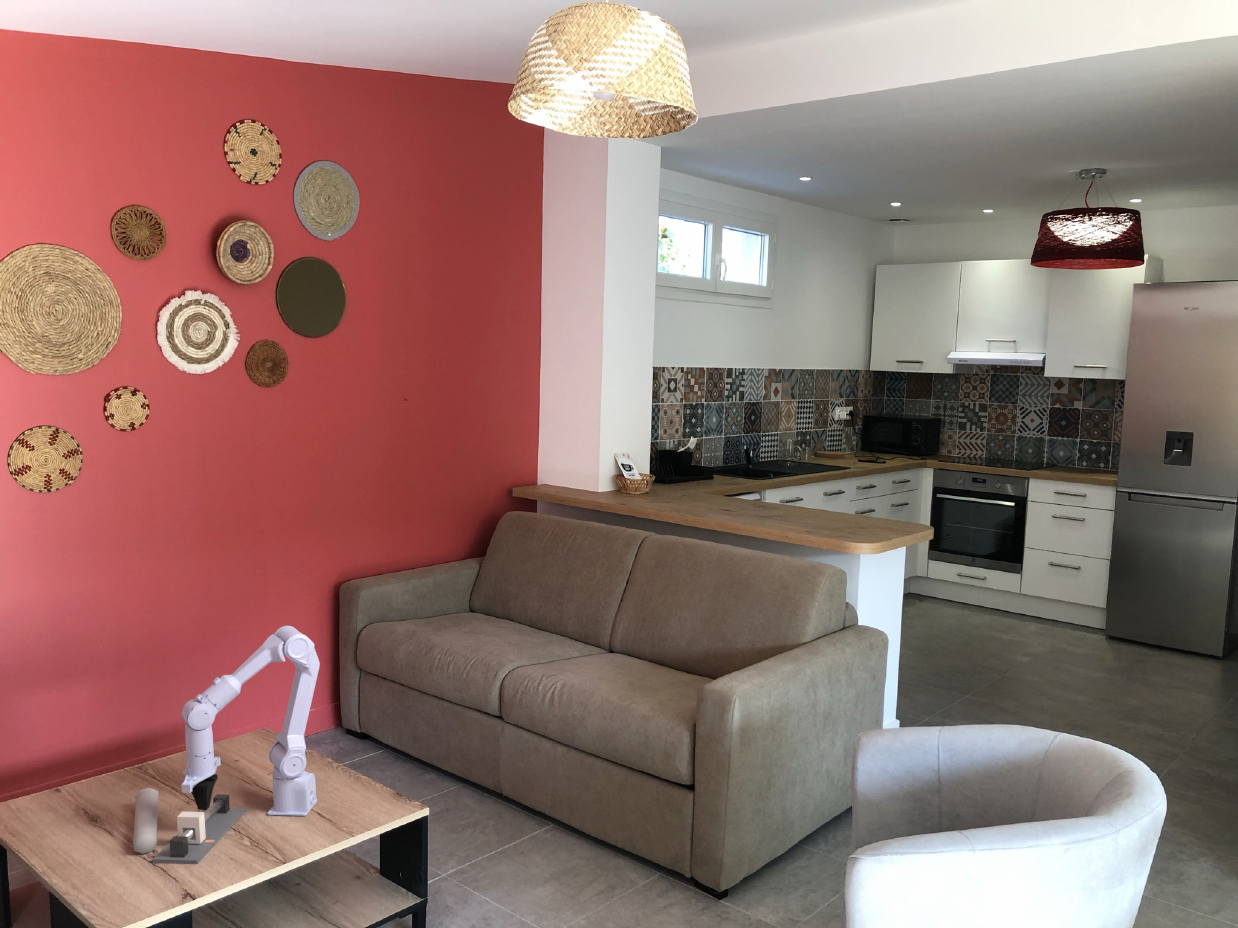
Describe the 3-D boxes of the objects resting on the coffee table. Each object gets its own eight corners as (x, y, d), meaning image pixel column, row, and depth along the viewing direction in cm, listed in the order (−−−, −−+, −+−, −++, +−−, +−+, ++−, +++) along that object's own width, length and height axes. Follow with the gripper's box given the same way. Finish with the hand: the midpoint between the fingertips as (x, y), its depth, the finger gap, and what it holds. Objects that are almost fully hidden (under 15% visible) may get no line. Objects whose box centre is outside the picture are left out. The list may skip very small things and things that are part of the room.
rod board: (246, 810, 234) (245, 792, 233) (197, 863, 210) (196, 843, 210) (205, 810, 234) (204, 791, 234) (152, 862, 211) (151, 842, 210)
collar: (205, 837, 219) (204, 811, 218) (200, 843, 216) (198, 817, 216) (184, 837, 219) (182, 811, 218) (178, 842, 217) (176, 816, 216)
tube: (161, 836, 215) (162, 788, 237) (135, 833, 212) (138, 786, 235) (154, 859, 215) (155, 809, 237) (128, 857, 212) (132, 807, 235)
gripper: (198, 738, 229) (202, 793, 231) (166, 765, 214) (170, 823, 216) (227, 739, 228) (231, 793, 230) (197, 765, 214) (201, 823, 216)
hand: (203, 808), depth 223 cm, fingers closed
